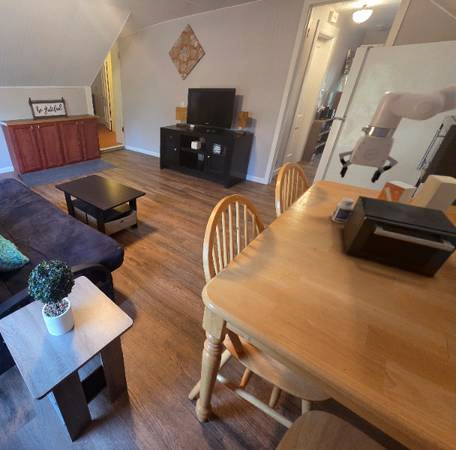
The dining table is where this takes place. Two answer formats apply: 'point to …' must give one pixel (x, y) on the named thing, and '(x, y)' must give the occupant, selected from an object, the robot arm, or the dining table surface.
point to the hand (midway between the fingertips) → (357, 179)
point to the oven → (395, 216)
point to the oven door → (402, 245)
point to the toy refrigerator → (436, 193)
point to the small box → (397, 192)
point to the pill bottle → (343, 210)
